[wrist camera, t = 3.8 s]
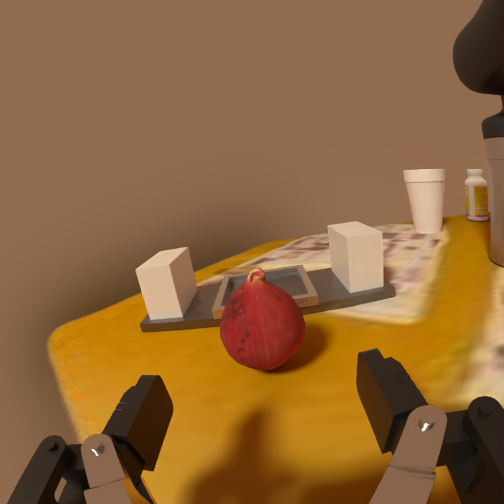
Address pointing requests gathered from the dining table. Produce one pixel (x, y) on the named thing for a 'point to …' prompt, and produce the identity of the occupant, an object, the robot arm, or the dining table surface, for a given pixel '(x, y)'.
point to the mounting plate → (288, 278)
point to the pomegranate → (261, 324)
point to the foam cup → (426, 198)
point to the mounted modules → (184, 285)
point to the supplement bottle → (476, 196)
